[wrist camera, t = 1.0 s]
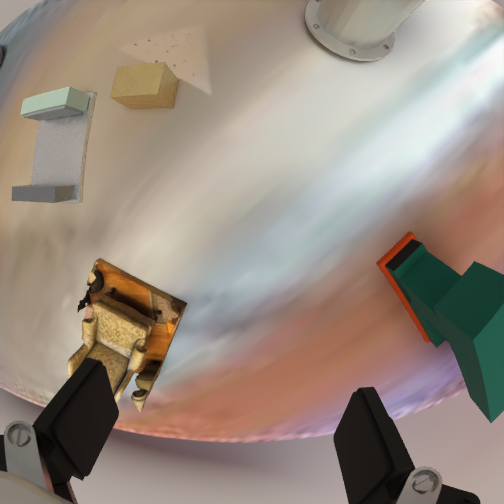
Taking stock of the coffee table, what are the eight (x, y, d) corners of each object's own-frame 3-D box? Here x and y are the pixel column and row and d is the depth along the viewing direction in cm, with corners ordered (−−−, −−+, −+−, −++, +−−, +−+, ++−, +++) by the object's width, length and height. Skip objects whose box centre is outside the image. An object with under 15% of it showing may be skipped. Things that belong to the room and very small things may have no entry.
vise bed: (46, 102, 28) (23, 96, 22) (96, 93, 28) (74, 82, 23) (34, 199, 32) (10, 203, 26) (81, 202, 32) (56, 207, 26)
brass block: (137, 82, 28) (117, 67, 22) (178, 80, 28) (164, 62, 22) (131, 109, 29) (109, 97, 23) (173, 108, 29) (157, 94, 23)
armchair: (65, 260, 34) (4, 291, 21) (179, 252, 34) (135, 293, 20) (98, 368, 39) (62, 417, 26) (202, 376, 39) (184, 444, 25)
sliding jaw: (43, 104, 27) (23, 99, 22) (89, 95, 27) (69, 86, 23) (40, 121, 28) (19, 117, 23) (85, 113, 28) (64, 107, 23)
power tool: (468, 352, 38) (522, 408, 18) (443, 375, 39) (492, 439, 20) (411, 229, 32) (520, 273, 13) (376, 262, 34) (471, 336, 14)
